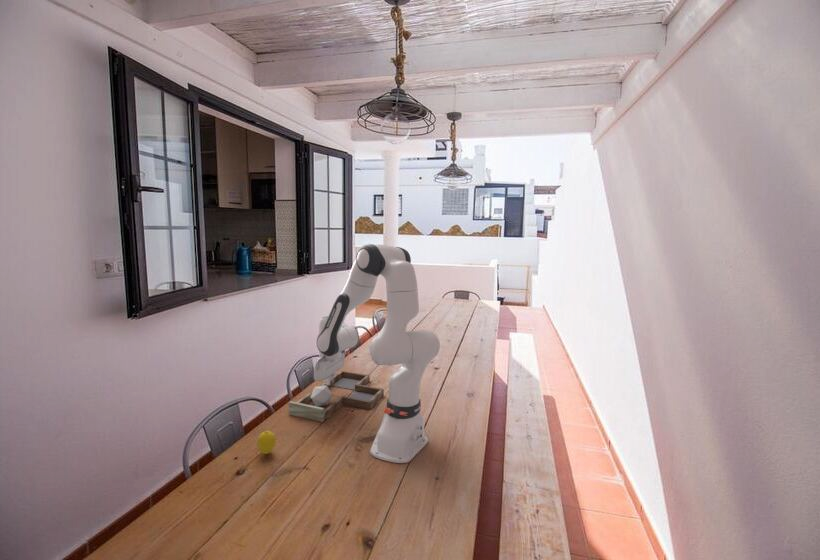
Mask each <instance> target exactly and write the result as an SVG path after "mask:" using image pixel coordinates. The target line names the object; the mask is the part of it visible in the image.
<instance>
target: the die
mask: <svg viewBox="0 0 820 560" xmlns="http://www.w3.org/2000/svg"><path fill="white" fill-rule="evenodd" d="M312 391H313V392H312V395H311V399H312V400H311V401H312V403H313V404H314V406H317V407H325V406H329V404H330V402H331V399H332V396H333V393H332V391H331V389H330V387H329V388H328V387H327V385H324V386H320V385H318V386H314V387H313V390H312Z"/></svg>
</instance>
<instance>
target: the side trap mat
mask: <svg viewBox="0 0 820 560" xmlns="http://www.w3.org/2000/svg"><path fill="white" fill-rule="evenodd" d="M373 396H374V395H373V394H367V393H362V392H356V391H355V390H354V392H353V393H352V394H350V395H349V396H348V397H351V398H357V399H362V400H367V401H369V400H370V399H371V398H372V397H373Z"/></svg>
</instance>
